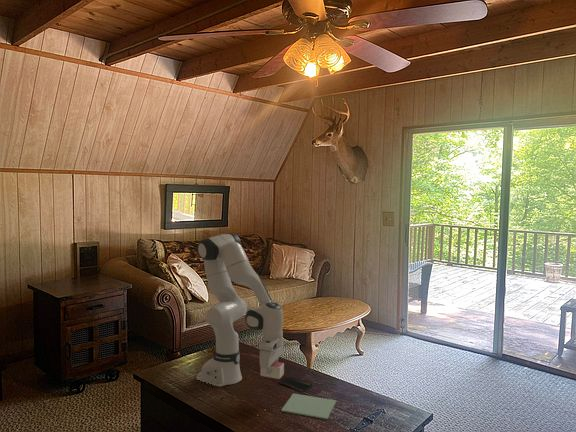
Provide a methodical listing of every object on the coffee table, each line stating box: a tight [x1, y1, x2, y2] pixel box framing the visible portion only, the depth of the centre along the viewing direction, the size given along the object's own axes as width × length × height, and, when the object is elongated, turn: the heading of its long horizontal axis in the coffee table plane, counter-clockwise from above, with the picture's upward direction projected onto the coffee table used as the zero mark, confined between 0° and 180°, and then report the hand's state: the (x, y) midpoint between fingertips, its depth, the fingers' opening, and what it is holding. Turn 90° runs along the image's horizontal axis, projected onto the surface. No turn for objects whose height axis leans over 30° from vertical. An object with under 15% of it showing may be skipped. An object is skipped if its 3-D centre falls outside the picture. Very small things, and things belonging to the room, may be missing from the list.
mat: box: [280, 393, 337, 420], centre depth 186 cm, size 20×16×1 cm
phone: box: [279, 376, 313, 393], centre depth 207 cm, size 8×1×15 cm
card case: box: [259, 361, 285, 380], centre depth 191 cm, size 9×6×5 cm, turn 71°
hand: (271, 370), depth 191 cm, fingers closed on card case, 5 cm apart
